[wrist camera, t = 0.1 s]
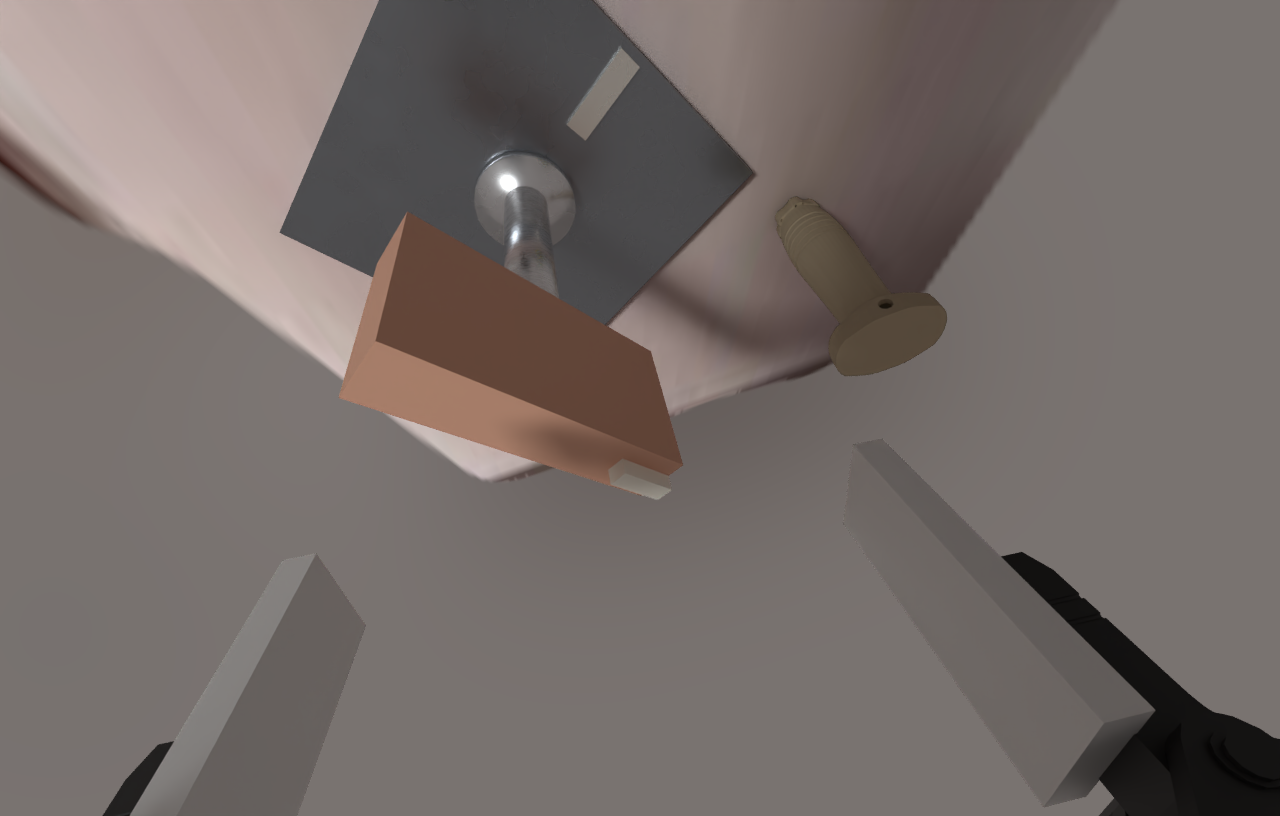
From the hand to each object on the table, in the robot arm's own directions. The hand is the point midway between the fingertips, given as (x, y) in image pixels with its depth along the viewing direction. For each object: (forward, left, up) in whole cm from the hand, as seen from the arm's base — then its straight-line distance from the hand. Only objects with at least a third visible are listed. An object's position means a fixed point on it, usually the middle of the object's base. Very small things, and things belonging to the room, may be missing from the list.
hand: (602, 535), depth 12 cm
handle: (-6, +19, -28) cm, 34 cm away
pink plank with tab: (+5, +2, -15) cm, 16 cm away
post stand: (+5, +2, -28) cm, 28 cm away
